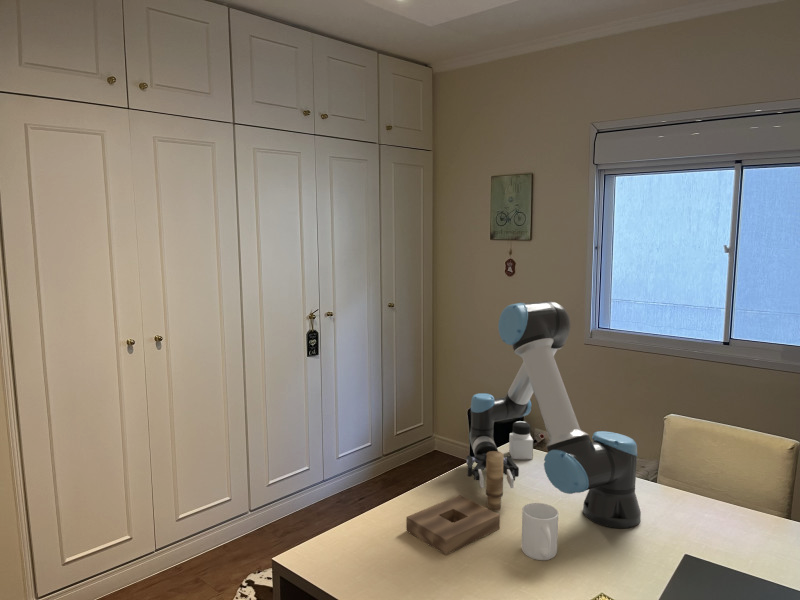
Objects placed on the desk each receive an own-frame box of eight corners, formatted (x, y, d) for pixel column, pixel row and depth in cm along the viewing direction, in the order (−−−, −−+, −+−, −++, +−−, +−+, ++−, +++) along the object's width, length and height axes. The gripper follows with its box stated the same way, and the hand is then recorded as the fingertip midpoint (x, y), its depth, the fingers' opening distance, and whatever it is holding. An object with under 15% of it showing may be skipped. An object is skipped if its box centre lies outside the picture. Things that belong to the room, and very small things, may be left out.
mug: (530, 570, 137) (532, 527, 136) (517, 543, 149) (518, 503, 147) (566, 569, 137) (568, 526, 136) (550, 542, 149) (551, 502, 148)
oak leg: (506, 508, 167) (507, 454, 165) (494, 513, 164) (495, 458, 162) (493, 502, 171) (494, 449, 169) (481, 507, 168) (482, 453, 166)
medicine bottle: (532, 459, 203) (533, 426, 201) (512, 459, 203) (513, 426, 201) (528, 451, 210) (529, 419, 208) (508, 451, 210) (509, 419, 209)
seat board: (499, 528, 156) (499, 514, 155) (445, 555, 143) (445, 539, 143) (459, 508, 167) (459, 495, 167) (406, 530, 155) (406, 516, 154)
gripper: (517, 463, 185) (533, 496, 162) (453, 463, 185) (460, 496, 162) (518, 440, 184) (534, 470, 161) (453, 440, 184) (460, 470, 161)
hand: (497, 483), depth 162 cm, fingers open, 8 cm apart
